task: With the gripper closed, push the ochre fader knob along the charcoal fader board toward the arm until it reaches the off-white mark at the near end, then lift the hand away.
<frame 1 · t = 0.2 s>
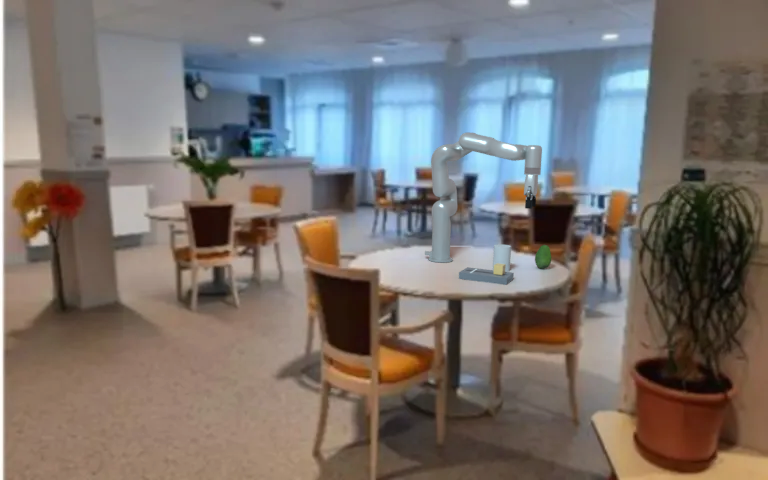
hand: (530, 207, 279), 31 cm above the table, tool pointing down, fingers open, 9 cm apart
light blue cylinder: (501, 270, 284), on the table
avocado: (542, 269, 289), on the table
fader knob: (499, 269, 262), point 5 cm above the table, slide at 0.0 cm
fader board: (486, 278, 265), on the table
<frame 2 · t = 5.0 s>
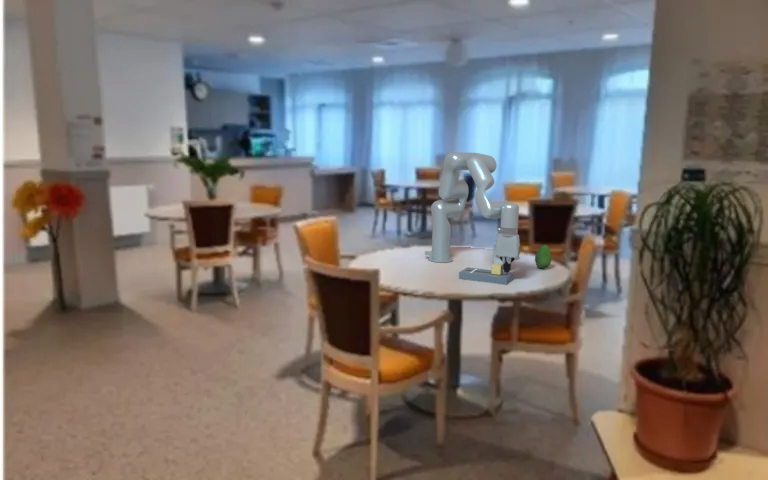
hand: (506, 271, 260), 4 cm above the table, tool pointing down, fingers closed
fader knob: (497, 268, 262), point 5 cm above the table, slide at 0.9 cm, touching gripper
everything else where it was.
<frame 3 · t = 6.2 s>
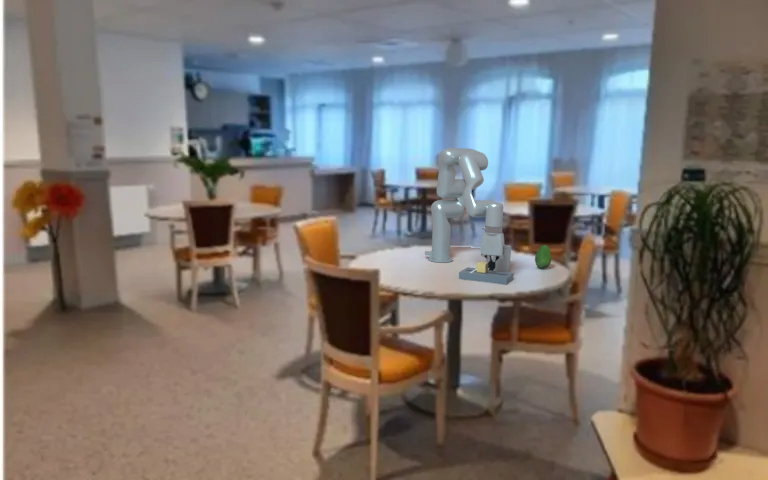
hand: (491, 269, 263), 4 cm above the table, tool pointing down, fingers closed
fader knob: (482, 267, 265), point 5 cm above the table, slide at 7.9 cm, touching gripper
everything else where it was.
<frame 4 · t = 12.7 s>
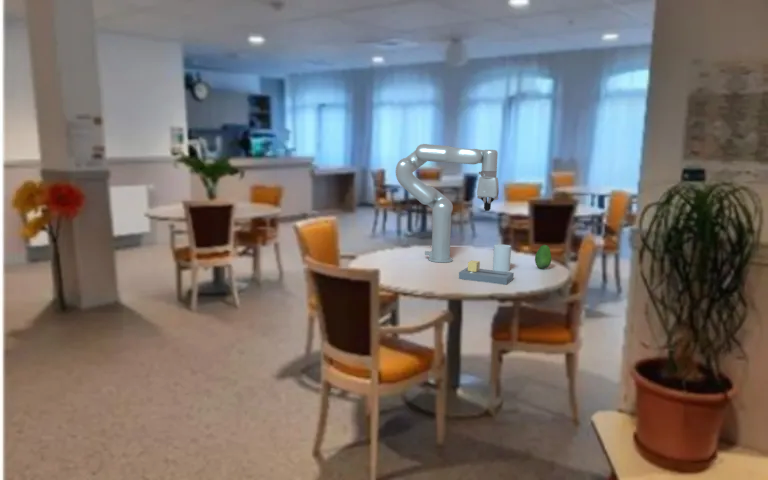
hand: (487, 210, 295), 27 cm above the table, tool pointing down, fingers closed
fader knob: (473, 266, 267), point 5 cm above the table, slide at 12.1 cm
everything else where it was.
at the end: fader knob slide at 12.1 cm; the gripper is holding nothing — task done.
